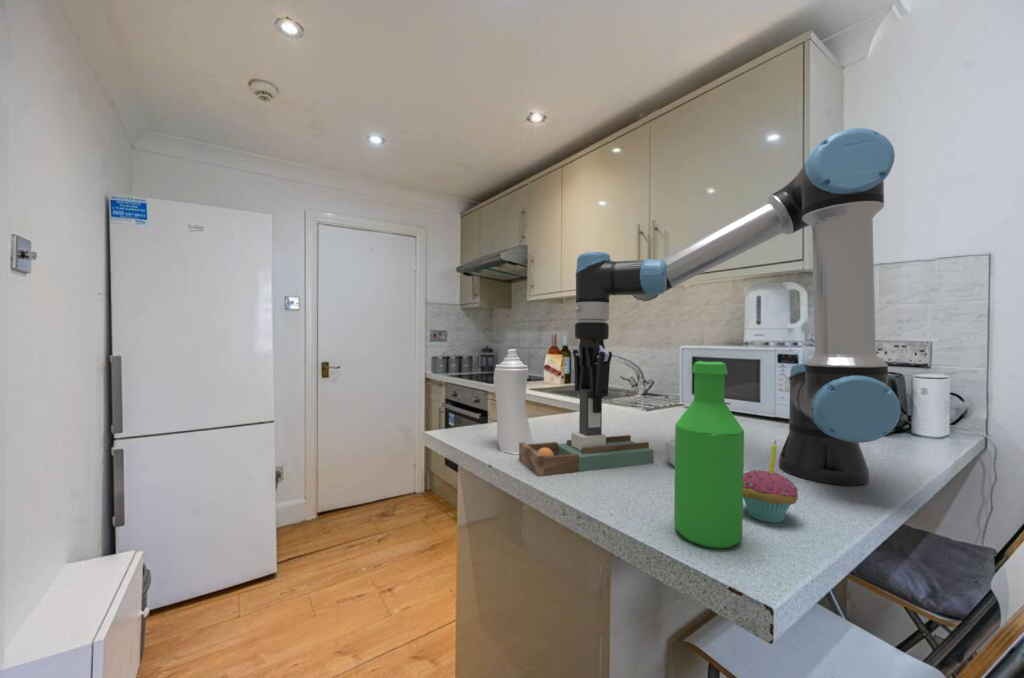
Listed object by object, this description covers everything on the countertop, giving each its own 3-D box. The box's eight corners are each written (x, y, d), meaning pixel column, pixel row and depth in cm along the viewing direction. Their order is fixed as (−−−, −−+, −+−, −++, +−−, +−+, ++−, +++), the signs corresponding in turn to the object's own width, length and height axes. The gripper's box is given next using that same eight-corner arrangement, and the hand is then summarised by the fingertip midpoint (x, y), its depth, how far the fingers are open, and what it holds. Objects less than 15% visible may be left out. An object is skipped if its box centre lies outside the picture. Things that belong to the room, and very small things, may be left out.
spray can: (482, 450, 101) (484, 349, 101) (500, 440, 111) (501, 348, 111) (526, 456, 97) (528, 350, 97) (541, 445, 107) (542, 349, 107)
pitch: (653, 463, 92) (653, 449, 92) (578, 471, 86) (578, 457, 86) (624, 450, 103) (624, 438, 103) (555, 456, 96) (555, 444, 96)
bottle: (750, 537, 59) (753, 362, 58) (729, 559, 52) (732, 364, 52) (688, 517, 65) (690, 359, 65) (663, 535, 59) (665, 361, 59)
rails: (648, 447, 94) (648, 442, 94) (583, 454, 88) (583, 448, 88) (628, 439, 101) (628, 435, 101) (566, 445, 96) (567, 440, 96)
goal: (578, 471, 86) (579, 452, 86) (538, 476, 83) (538, 456, 83) (555, 456, 97) (555, 439, 97) (519, 460, 94) (519, 442, 93)
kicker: (605, 448, 92) (606, 390, 92) (581, 451, 90) (582, 391, 90) (594, 443, 96) (594, 388, 96) (571, 445, 94) (571, 388, 94)
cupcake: (756, 502, 71) (757, 433, 71) (810, 522, 63) (811, 445, 63) (724, 511, 67) (725, 438, 67) (777, 534, 60) (779, 451, 59)
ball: (556, 469, 88) (558, 450, 88) (539, 468, 87) (541, 450, 87) (548, 463, 92) (550, 445, 92) (532, 463, 91) (534, 445, 91)
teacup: (665, 469, 88) (666, 444, 88) (664, 459, 95) (664, 436, 95) (717, 475, 85) (717, 449, 85) (711, 464, 92) (712, 440, 92)
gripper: (561, 322, 99) (559, 419, 100) (596, 320, 84) (593, 434, 84) (588, 323, 102) (586, 417, 102) (627, 321, 87) (624, 432, 87)
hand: (589, 425), depth 93 cm, fingers closed on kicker, 3 cm apart
